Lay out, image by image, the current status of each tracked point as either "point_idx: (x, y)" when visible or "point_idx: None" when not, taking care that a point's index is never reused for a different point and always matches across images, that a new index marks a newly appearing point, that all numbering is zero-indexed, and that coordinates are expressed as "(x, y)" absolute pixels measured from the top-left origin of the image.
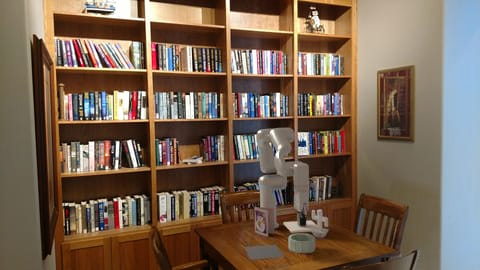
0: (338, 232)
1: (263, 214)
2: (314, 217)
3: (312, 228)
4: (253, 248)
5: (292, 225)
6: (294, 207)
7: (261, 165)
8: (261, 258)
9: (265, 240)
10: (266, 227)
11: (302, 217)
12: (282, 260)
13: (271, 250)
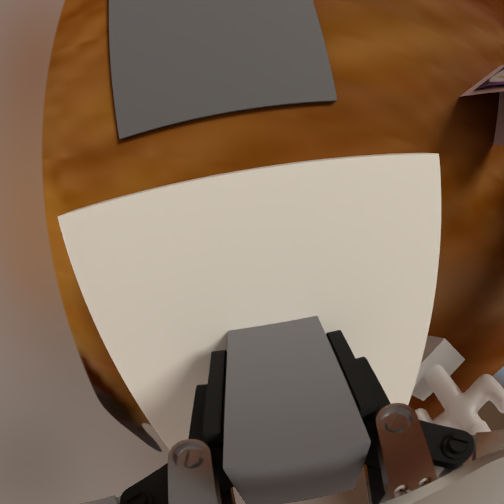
0: (426, 405)
1: None
2: (479, 392)
3: (166, 416)
4: None
5: (284, 249)
6: (480, 479)
7: None
8: (111, 22)
9: (417, 66)
10: (499, 87)
11: (183, 455)
12: (91, 128)
13: (228, 58)
